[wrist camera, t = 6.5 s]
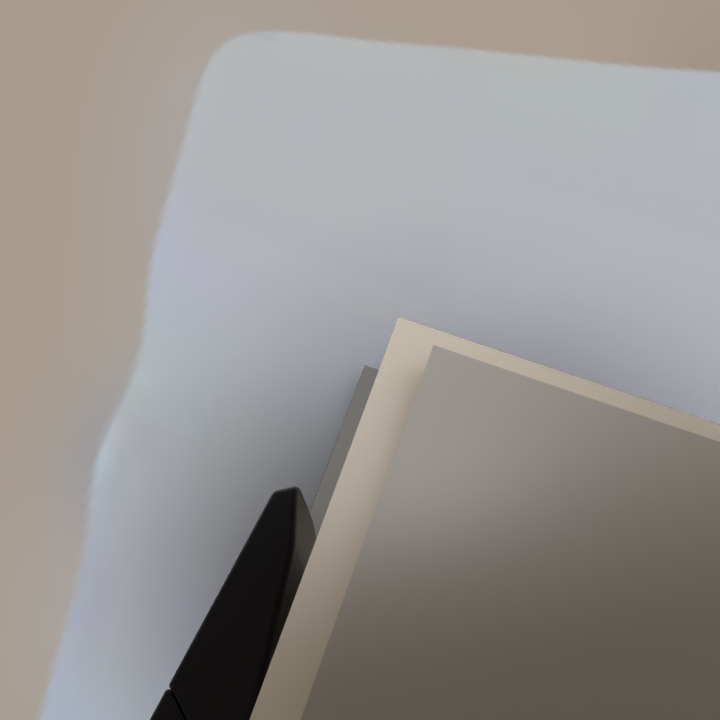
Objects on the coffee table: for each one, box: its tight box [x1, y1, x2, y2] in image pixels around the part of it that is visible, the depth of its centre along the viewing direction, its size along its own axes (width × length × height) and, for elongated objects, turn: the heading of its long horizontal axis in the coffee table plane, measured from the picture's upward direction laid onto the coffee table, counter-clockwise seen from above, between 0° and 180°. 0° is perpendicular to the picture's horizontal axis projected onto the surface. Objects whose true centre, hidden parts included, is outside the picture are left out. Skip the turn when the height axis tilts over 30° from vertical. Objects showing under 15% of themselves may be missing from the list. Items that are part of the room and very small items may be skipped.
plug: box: [250, 317, 720, 720], centre depth 9 cm, size 3×3×13 cm
